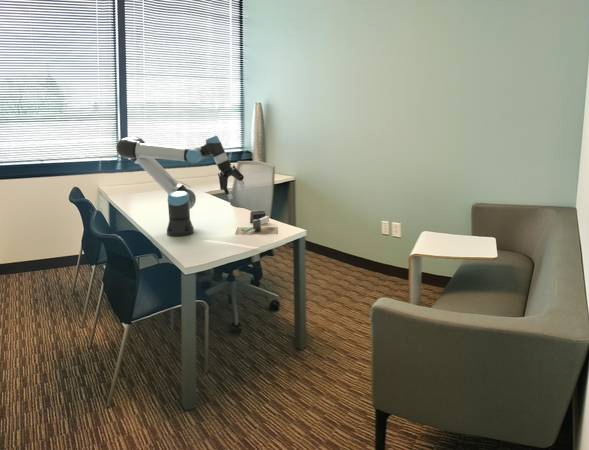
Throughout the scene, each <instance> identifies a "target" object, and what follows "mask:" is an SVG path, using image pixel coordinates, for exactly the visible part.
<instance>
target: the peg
mask: <svg viewBox="0 0 589 450" xmlns="http://www.w3.org/2000/svg"><path fill="white" fill-rule="evenodd" d="M268 222H270V216H269V215H268V216H267V215H265V217H263V218H260V219H254V220H253V223H252V227H253V230H251V231H249V232H247V233H251V232H253V231H261V227H262V226H261V225H263V224H267V223H268Z"/></svg>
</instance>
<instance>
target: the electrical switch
mask: <svg viewBox="0 0 589 450" xmlns="http://www.w3.org/2000/svg"><path fill="white" fill-rule="evenodd" d="M249 213H250V214H249V223H250V224H253V220H254V219H260V218H263V217H266V210H265V209H257V210H256V209H255V210H254V209H253V210H250V212H249Z"/></svg>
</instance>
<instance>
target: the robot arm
mask: <svg viewBox="0 0 589 450" xmlns="http://www.w3.org/2000/svg"><path fill="white" fill-rule="evenodd" d="M116 152H117V154H118V155H119V156H120V158H121V157H122V158H123V159H127V160H128V159H129V160H131V162H132V163H134V164H136V165H137V164H138V165H139V166H140V167H141V168H142V169H143V170H144V171H145V173H147V174H148V175H149V176H150V178H152V179H153V181H155V182H156V183H157V184H158V186H160V187H161V188H162V190H163V191H165V192H166V193H167V205H168V206H167V207H168V223H167V228H166V235H168V236H170V235H171V236H170V237H184V236H185V235H186V236H189V235H192V234H194V232H195V230H194V226H193V223H192V220H191V214H190V210H191V209H192V208H193V207H194V206H195V204H196V201H197V199H196V194H195V192H193V190H191V189H189V188H187V187H186V186H185V185H184V184H182V183H178V182H177V180H176V179H174V177H173V176H172V175H171V174H170V173H169V172H168V171H167V170H166V169H165V168H164V167H163V166H162V165H161V164H160V163H159V162H158V161H157V160H169V161H178V162H179V161H180V162H187V163H191V164H197V163H199V162H200V161H202V160H204V159H206V158H208V157H210V156H212V157H213V160H214V161H215V162H214V163H215V164H217V165H216V166H217V168H218V171H220V172H218V173H217V176H218V179H219V187H220V191H224V193H225V195H226V197H227V198H228V200H233V199H234V197H233V195H232V192H231V191H230V188H229V187H228V179H229V177H231V176H232V177H233V178H234V179H236V180H237V182H238V184H239V186H240V188H241V191H242V192H245V191H247V187H246V186H245V182H244V178H245V176H244V175H243V174H242V172H241V171H239V170H238V169H237V168H236V166H235V165H232V164H231V161H230V159H229V158H228V155H227V152H226V151H225V149H224V147H223V144H222V142H221V141H220V138H219V136H218V135H216V134H215V135H212V136H210V137H209V138H206V139H205V143H204V144H201V145H198V146H197V147H194V148H193V147H180V146H170V145H159V144H152V143H151V144H149V143H146V141H144V139H143V138H142V137H139V136H134V135H131V136H128V137H124V138H121V139H119V140H118V142H117V143H116Z"/></svg>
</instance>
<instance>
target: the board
mask: <svg viewBox="0 0 589 450" xmlns="http://www.w3.org/2000/svg"><path fill="white" fill-rule="evenodd" d="M251 230H253V226H252V227H251V226H249V227H248V226H247V227H246V226H245V227H241V226H240V227H237V228H236V230H235V233H234V235H236V236H239V235H242V236H243V235H244V236H245V235H251V236H252V235H278V234H279V226H265V227H263V226H261V231H253V232H251V233H247V232H249V231H251Z"/></svg>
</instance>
